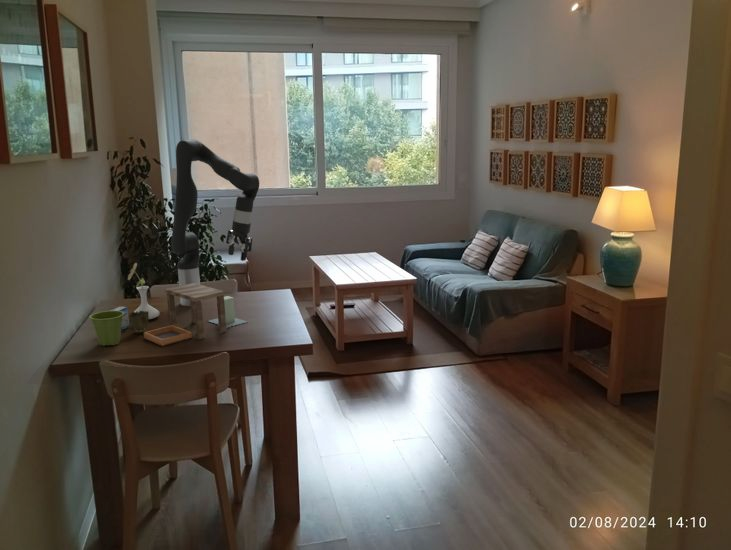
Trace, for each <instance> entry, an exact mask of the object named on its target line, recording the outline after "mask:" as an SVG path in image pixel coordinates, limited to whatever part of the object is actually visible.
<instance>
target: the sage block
mask: <svg viewBox="0 0 731 550" xmlns="http://www.w3.org/2000/svg"><path fill="white" fill-rule="evenodd" d="M224 305H225V318H226V323H230V322H233V321H235V318H236V313H235V299H234V297H232V296H229V295H227V296H225V295H224Z"/></svg>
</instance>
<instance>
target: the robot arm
mask: <svg viewBox="0 0 731 550" xmlns="http://www.w3.org/2000/svg"><path fill="white" fill-rule="evenodd" d="M175 161H176V164H175V165H176V189H175V202H174V203H175V204H174V205H175V206H174V209H175V210H174V221H173V227H172V233H171V240H170V242H171V244H170V245H171V248H172V252H173V253H174V254H176V255H183V257H182V259H180V260H179V261H178V262H177V264H176V266H177V274H178V275H177V276H178V286H182V285H187V284H192V283H196V284H199V285H201V280H200V268H199V263H200V242H199V239H198V235H197V234H195V233H194V232H192V231H188V232H187V227H188V224H189V222H190V220H191V218H192V217H193V215H194V214H195V212H196V209H197V206H198V188H197V186H196V183H195V181H194V180H193V177H192V164H193V162H198V161H199V162H202V163H204V164H206V165H208V166H209V167H210V168H211V169H212V170H213V172H214V173H215V174H216V175H218V176H220V177H221V178H223V179H224V180H226V181H227V182H229V183H230V184H231V185H232V186H234V187H235V188H236V189H238V190H240V191H242V193H241V194H240V195H238V196H237V197H236V202H235V207H234V208H235V209H234V212H233V219H232V225H231V230H227V236H226V241H225V242H226V245H228V250H227V251H228V256H233V255H234V254H235V246H236V245H238V246H239V248H240V249H241V254H240V261H242V262H243V261H244V262H245V261H246V260H247V255H248V253H251V252H252V245H253V237H248V235H249V234H250V231H251V227H252V226H251V225H252V220H253V208H254V201H255V199H256V196H257V194H258V191H259V189H260V180H259V177H258V176H257V174H254V173H245V172H242V171H241V169H240V168H239V167H238V166H236V165H235V164H233V163H231V162H229V161H228V160H225V159H224V158H222V157H221V156H219V155H218V154H217V153H215V152H214V151H213V150H211V149H210V148H209V147H208V146H207V145H206V144H204V143H203V142H201V141H200V140H198V139H181V140H180V141H179V142H177V144H176V148H175ZM179 300H180V305H181V306H182V307H191V306H190V300H187V299H184V298H181V297H179ZM202 301H203V300H201V304H202Z"/></svg>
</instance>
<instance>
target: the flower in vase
mask: <svg viewBox="0 0 731 550" xmlns="http://www.w3.org/2000/svg"><path fill="white" fill-rule="evenodd" d="M137 266H138V263H137V262H135V263H134V264H133V266H132V268H131V269H130V273H129V274H128V275H127V279H126V280H128V281H130V280H131V279H132V277H133V275H134V274H135V275H136V277H137V278H138V282H137V283H136V286H135V287H136V290H137V291H138V292H139V295H140V304H139V306H138V308H136V309H135V310H134V311H133V312H135V313H136V312H138V313H139V312H140V311H144V312H145V311H146V312H147V311H148V312H149V314H148V321H149V320H152V319H155V318H158V317H159V316H160V311H159V310H158V309H156V308H154V307H153V306H151V305H150V304H149V303H148V298H147V292H148V289H150V287H149V286H148V285H145V284H146V281H145V279H144V278H143V277H141V278H140V277H139V275H138V273H137V272H136V269H137Z"/></svg>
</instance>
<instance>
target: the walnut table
mask: <svg viewBox="0 0 731 550" xmlns="http://www.w3.org/2000/svg"><path fill="white" fill-rule="evenodd" d="M164 291H165V292H164V293H165V294H166V300H167V301H166V302H167V303H166V304H167V313H168V322H169V326H171V325H173V326H176V327H178V325H177V324H178V323H177V322H178V321H177V314H176V304H175V303H176V302H175V297H178V298H180V297H181V298H184V299H187V300H190V306H189V307H190V315H191V323H192V324H194V323H195V333H196V339H197V340H199V339H201V340H203V338H204V339H205V330H204V319H203V317H204V316H203V307H202V303H201V301H204V300H208V299H212V298H216V307H217V318H218V322H219V325H218V331H219V333H220V332H221V334H224V333H223V332H225V333H227V332H226V331H227V328H226V318H225V305H224V297H225V295H226V294H225V293H226V292H225V290H221V289H217V288H214V287H211V286H206V285H204V284H200V285H199V284H196V283H192V284H187V285H182V286H179V285H178V286H174V287H173V286H172V287H168V288H165V289H164Z"/></svg>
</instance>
